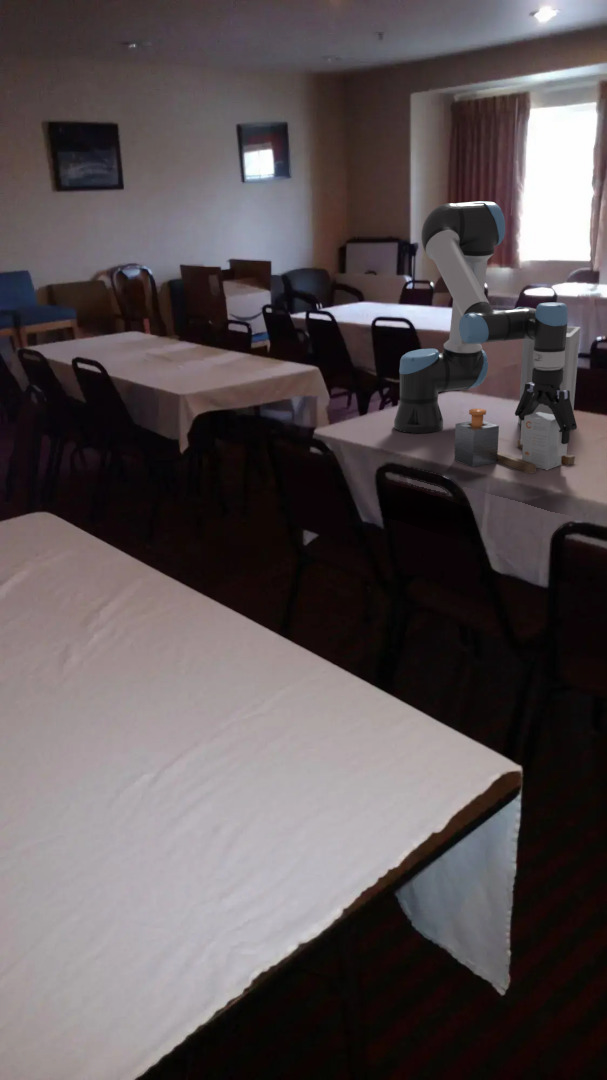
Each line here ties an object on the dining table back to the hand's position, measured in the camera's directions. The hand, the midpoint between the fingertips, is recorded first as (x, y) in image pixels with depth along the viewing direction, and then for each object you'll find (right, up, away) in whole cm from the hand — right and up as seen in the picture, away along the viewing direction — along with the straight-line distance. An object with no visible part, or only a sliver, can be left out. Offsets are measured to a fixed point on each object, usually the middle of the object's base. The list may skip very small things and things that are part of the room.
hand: (542, 449), depth 208 cm
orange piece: (-16, +4, +4) cm, 17 cm away
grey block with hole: (-16, -2, +7) cm, 18 cm away
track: (-2, -2, +7) cm, 7 cm away
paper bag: (+12, +12, +39) cm, 42 cm away
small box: (0, -4, +2) cm, 4 cm away
